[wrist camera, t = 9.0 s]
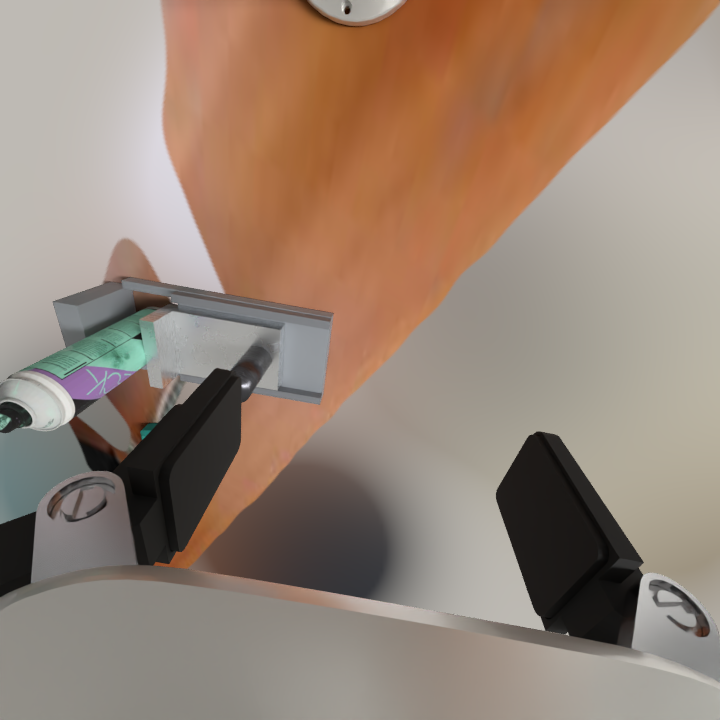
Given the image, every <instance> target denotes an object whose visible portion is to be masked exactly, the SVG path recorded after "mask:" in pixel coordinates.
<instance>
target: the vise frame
mask: <svg viewBox="0 0 720 720" xmlns="http://www.w3.org/2000/svg"><path fill="white" fill-rule="evenodd" d="M121 281H122V283H116V282H109V283H106V284H103V285H100V286H97V287H94V288H92V289H89V290H85V291H82V292H80V293H77V294H74V295H71V296H68V297H65V298H62V299H59V300H56V301H53V305H54V308H55V311H56V315H57V318H58V321H59V325H60V328H61V332H62V335H63V338H64V341H65V345H66V348H67V347H69V346H71V345H73V344H75V343H77V342H79V341H81V340H83V339H85V338H87V337H89V336H91V335H93V334H95V333H97V332H99V331H101V330H103V329H105V328H107V327H109V326H111V325H113V324H115V323H117V322H119V321H121V320H123V319H125V318H127V317H129V316H131V315H133V314H135V313H136V308H135V302H134V296H133V290H134V291H140V292H145V293H151V294H157V295H162V296H168V297H171V302H174V303H178V305H181V306H187V307H193V308H198V309H204V310H210V311H215V312H221V313H227V314H232V315H238V316H244V317H249V318H255V319H261V320H266V321H272V322H278V323H283V324H285V337H284V355H283V373H282V383H281V385H280V387H279V389H278V391H277V390H271V389H265V388H259V387H256V388H255V389H254V391H253V392H252V393H256V394H261V395H267V396H273V397H279V398H284V399H290V400H296V401H302V402H307V403H313V404H319V405H320V402H321V399H322V396H323V392H324V384H325V376H326V368H327V361H328V353H329V345H330V337H331V329H332V322H333V314H334V313H329V312H324V311H318V310H313V309H307V308H301V307H296V306H290V305H284V304H279V303H273V302H267V301H262V300H256V299H250V298H245V297H239V296H234V295H228V294H222V293H217V292H211V291H205V290H200V289H194V288H188V287H183V286H177V285H171V284H166V283H160V282H155V281H149V280H143V279H138V278H132V277H129V278H126V279H124V280H121ZM141 369H146V370H147V364H146V365H145V366H143V367H142V368H141ZM179 375H180V379H181V381H187V382H192V383H198V384H201V383H202V382H203V381H204V380H205V379H206V378H202V377H196V376H191V375H185V374H179Z"/></svg>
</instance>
